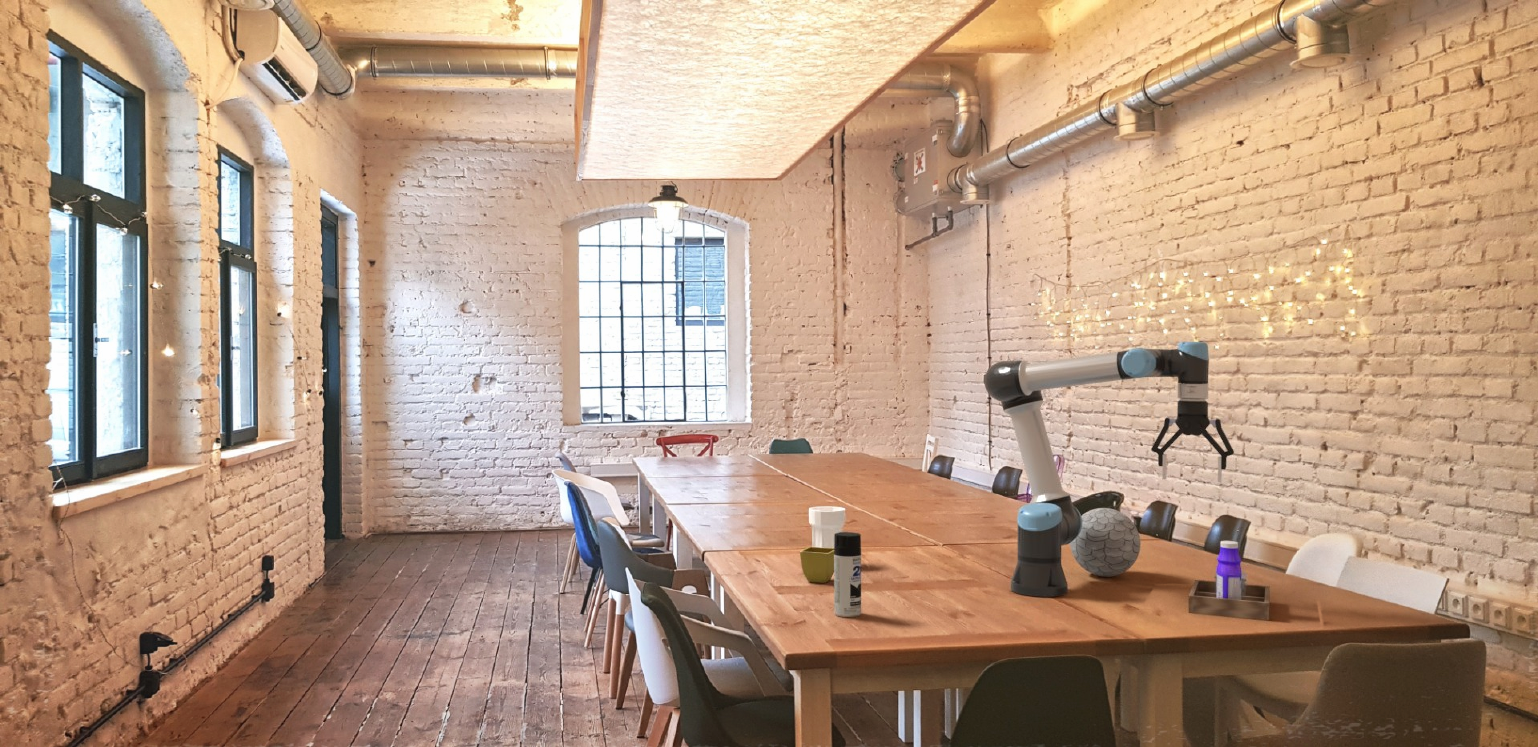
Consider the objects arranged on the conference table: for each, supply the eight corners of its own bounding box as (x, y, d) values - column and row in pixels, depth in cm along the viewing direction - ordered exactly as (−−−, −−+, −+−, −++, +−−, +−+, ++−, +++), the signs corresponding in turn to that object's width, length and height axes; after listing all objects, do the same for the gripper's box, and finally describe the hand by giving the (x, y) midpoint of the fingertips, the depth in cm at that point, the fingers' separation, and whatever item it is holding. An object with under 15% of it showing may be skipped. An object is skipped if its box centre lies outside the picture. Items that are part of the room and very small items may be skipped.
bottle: (1243, 615, 261) (1244, 544, 261) (1219, 614, 262) (1219, 543, 262) (1238, 608, 268) (1238, 539, 268) (1213, 607, 270) (1214, 538, 269)
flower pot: (798, 582, 301) (799, 550, 301) (809, 577, 309) (809, 546, 309) (828, 585, 298) (828, 553, 298) (838, 579, 306) (838, 548, 306)
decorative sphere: (1114, 585, 299) (1115, 514, 299) (1055, 574, 314) (1056, 507, 314) (1153, 577, 311) (1154, 509, 311) (1095, 566, 327) (1095, 501, 327)
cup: (846, 568, 321) (846, 511, 321) (808, 568, 322) (809, 511, 321) (844, 561, 333) (844, 506, 333) (808, 561, 333) (808, 506, 333)
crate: (1188, 615, 264) (1188, 595, 264) (1194, 598, 284) (1195, 579, 284) (1268, 623, 256) (1269, 603, 256) (1269, 605, 276) (1269, 586, 276)
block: (1214, 605, 272) (1214, 576, 272) (1216, 598, 280) (1216, 570, 280) (1246, 608, 269) (1246, 578, 269) (1246, 601, 277) (1247, 572, 277)
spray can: (853, 618, 259) (853, 536, 258) (828, 615, 262) (829, 534, 262) (865, 613, 264) (866, 533, 264) (841, 610, 268) (842, 530, 268)
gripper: (1141, 399, 284) (1140, 479, 284) (1243, 401, 273) (1242, 484, 273) (1144, 398, 290) (1143, 476, 291) (1244, 400, 279) (1243, 481, 280)
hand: (1191, 480), depth 282 cm, fingers open, 13 cm apart
